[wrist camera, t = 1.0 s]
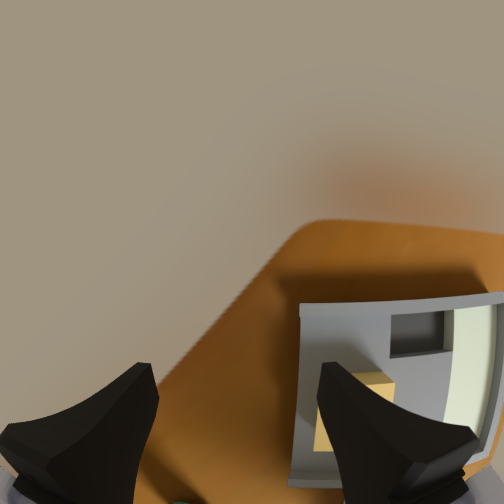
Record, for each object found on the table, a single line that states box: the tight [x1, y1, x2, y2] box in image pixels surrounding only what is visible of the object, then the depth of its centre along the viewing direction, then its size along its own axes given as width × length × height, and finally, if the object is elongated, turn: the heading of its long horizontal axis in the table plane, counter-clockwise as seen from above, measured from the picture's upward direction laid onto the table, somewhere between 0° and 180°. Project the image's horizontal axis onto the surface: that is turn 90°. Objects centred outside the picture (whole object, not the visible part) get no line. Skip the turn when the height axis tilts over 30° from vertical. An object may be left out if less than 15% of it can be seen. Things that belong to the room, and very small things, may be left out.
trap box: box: [287, 291, 504, 488], centre depth 17 cm, size 16×19×4 cm
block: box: [313, 371, 395, 451], centre depth 16 cm, size 5×5×4 cm
